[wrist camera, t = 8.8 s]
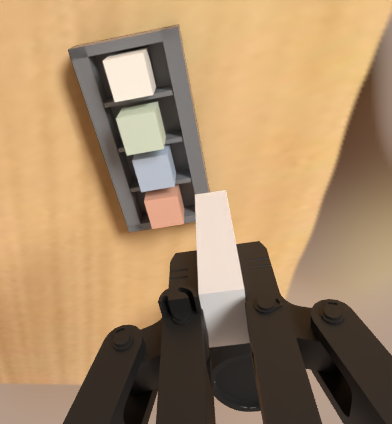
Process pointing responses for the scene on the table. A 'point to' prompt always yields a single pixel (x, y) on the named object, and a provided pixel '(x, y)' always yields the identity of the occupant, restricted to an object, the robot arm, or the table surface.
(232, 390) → the coffee cup
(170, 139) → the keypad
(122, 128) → the key sage
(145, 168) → the key slate
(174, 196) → the key terracotta
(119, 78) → the key cream
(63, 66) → the table surface
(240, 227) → the table surface
